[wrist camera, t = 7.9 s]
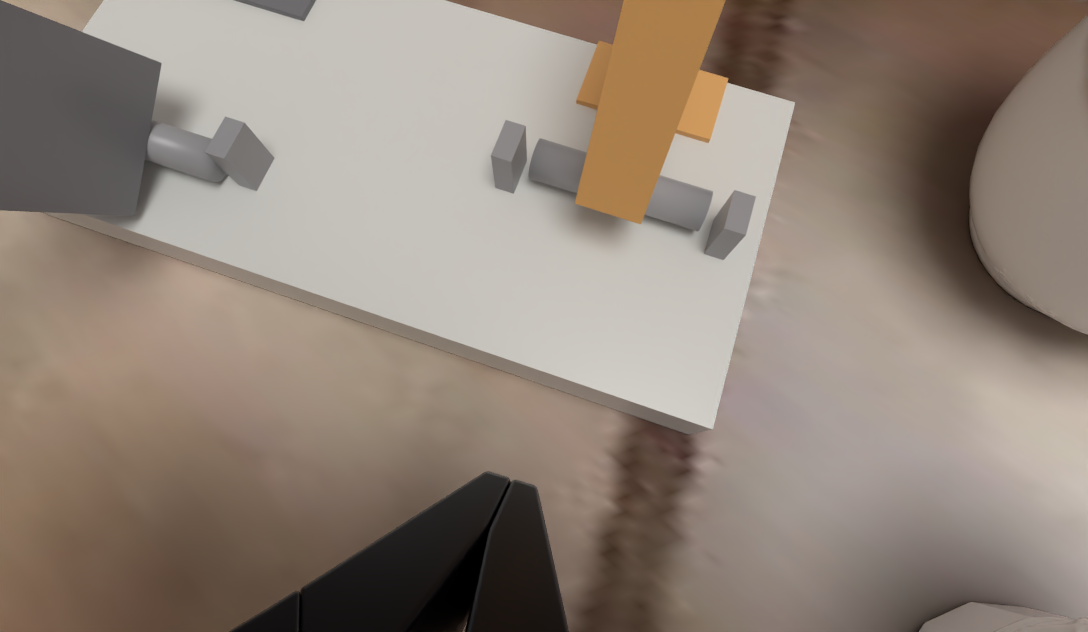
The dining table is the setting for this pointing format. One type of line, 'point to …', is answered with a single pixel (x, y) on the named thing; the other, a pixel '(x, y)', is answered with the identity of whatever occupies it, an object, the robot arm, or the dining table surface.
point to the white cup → (1002, 620)
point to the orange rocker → (639, 118)
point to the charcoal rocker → (81, 121)
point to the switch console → (449, 189)
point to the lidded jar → (1038, 186)
